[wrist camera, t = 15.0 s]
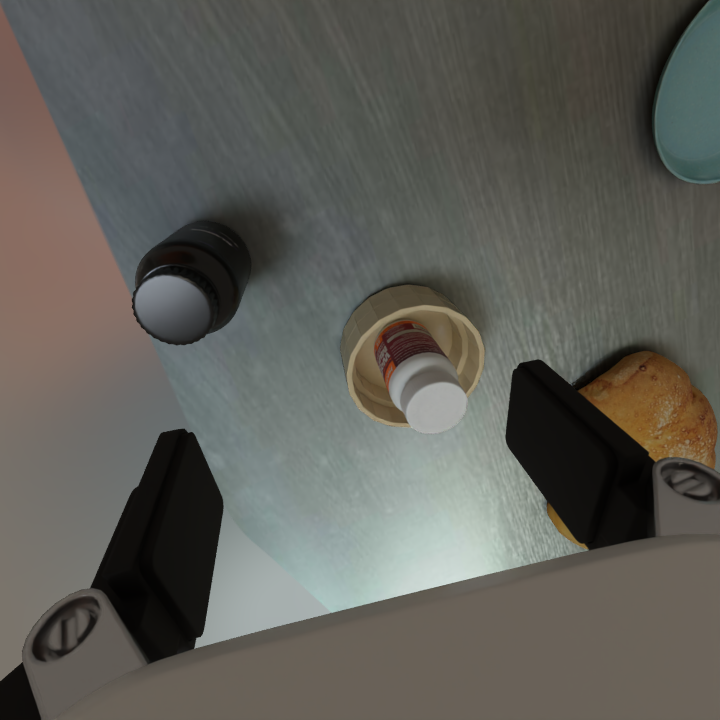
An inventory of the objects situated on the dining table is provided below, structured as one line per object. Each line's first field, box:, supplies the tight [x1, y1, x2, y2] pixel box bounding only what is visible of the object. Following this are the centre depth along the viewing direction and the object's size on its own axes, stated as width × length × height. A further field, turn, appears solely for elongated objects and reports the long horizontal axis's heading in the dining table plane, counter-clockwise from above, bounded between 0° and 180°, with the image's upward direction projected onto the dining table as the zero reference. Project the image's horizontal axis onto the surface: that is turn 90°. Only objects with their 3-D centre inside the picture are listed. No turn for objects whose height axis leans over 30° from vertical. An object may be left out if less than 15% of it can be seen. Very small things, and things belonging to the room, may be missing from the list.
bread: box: [547, 351, 717, 549], centre depth 49 cm, size 32×20×10 cm, turn 10°
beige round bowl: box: [340, 285, 485, 427], centre depth 38 cm, size 13×13×6 cm
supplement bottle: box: [132, 221, 251, 345], centre depth 28 cm, size 7×7×12 cm
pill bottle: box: [374, 319, 468, 434], centre depth 35 cm, size 6×6×11 cm
